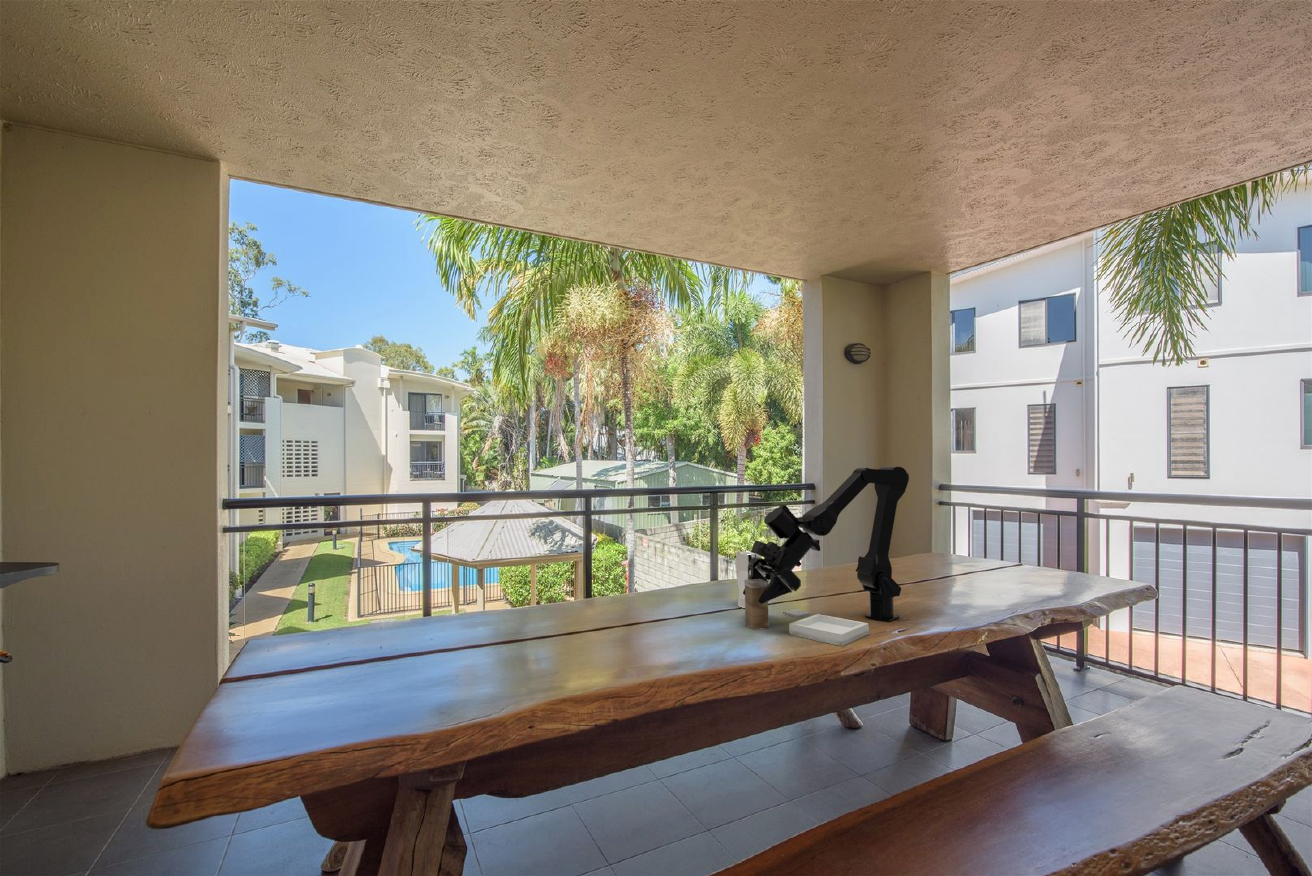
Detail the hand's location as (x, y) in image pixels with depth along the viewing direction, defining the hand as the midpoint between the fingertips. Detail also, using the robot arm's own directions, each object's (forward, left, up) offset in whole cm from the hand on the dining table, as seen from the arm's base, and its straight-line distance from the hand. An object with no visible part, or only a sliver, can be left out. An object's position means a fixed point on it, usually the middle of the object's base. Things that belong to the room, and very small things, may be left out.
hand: (751, 598), depth 140 cm
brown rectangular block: (-1, +1, -7) cm, 7 cm away
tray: (-7, +17, -7) cm, 19 cm away
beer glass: (-17, -13, -7) cm, 23 cm away
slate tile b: (-18, +1, -7) cm, 19 cm away
